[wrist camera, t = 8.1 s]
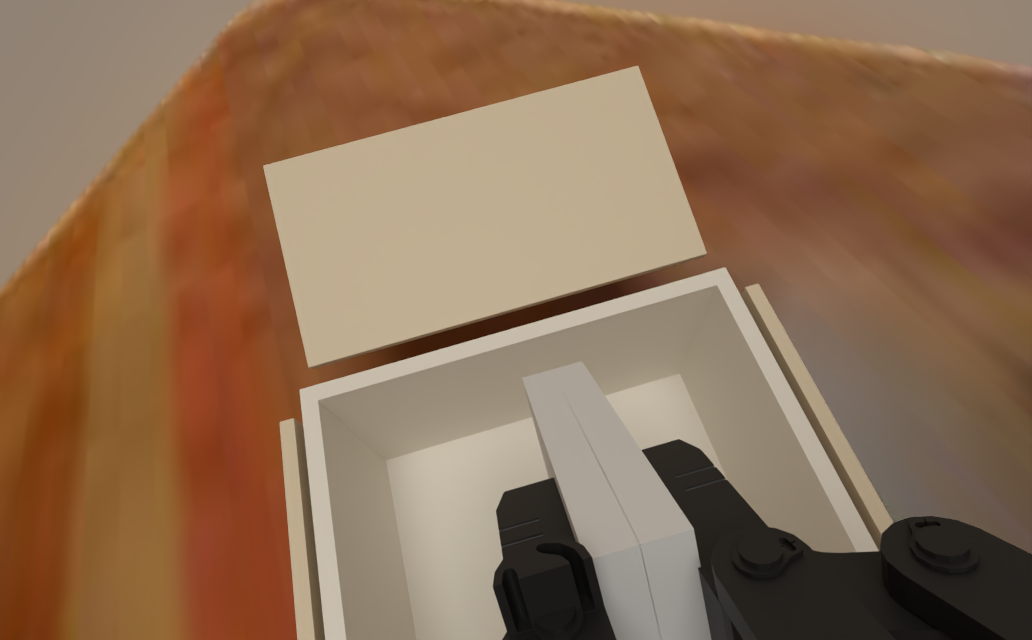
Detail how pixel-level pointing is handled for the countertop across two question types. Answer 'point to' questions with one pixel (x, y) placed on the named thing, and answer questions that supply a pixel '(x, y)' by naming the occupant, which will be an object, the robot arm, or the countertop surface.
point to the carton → (519, 461)
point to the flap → (478, 215)
